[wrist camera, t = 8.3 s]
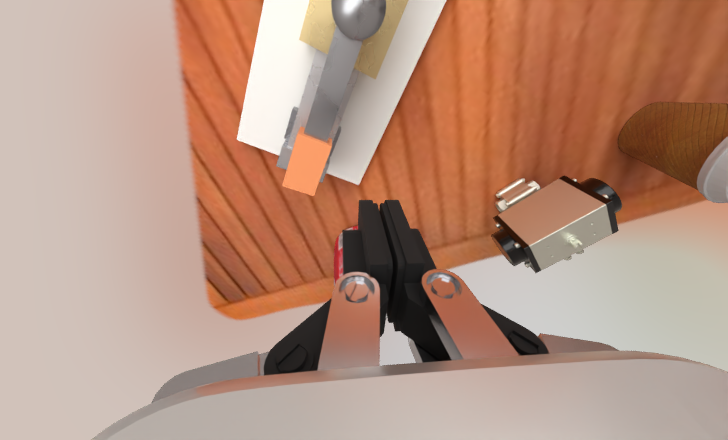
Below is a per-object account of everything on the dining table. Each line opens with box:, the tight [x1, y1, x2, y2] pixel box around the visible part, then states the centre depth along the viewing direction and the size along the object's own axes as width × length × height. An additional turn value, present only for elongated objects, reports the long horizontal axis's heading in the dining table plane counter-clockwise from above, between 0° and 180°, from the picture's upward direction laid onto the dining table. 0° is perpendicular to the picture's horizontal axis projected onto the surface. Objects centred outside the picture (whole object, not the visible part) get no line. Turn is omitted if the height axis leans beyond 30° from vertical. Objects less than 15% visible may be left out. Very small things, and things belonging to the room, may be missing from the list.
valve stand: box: [237, 0, 446, 185], centre depth 20 cm, size 28×14×8 cm, turn 156°
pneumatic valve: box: [491, 176, 622, 273], centre depth 31 cm, size 6×12×12 cm, turn 127°
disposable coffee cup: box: [618, 102, 728, 203], centre depth 27 cm, size 10×10×12 cm
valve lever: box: [282, 0, 386, 196], centre depth 18 cm, size 14×3×2 cm, turn 156°
